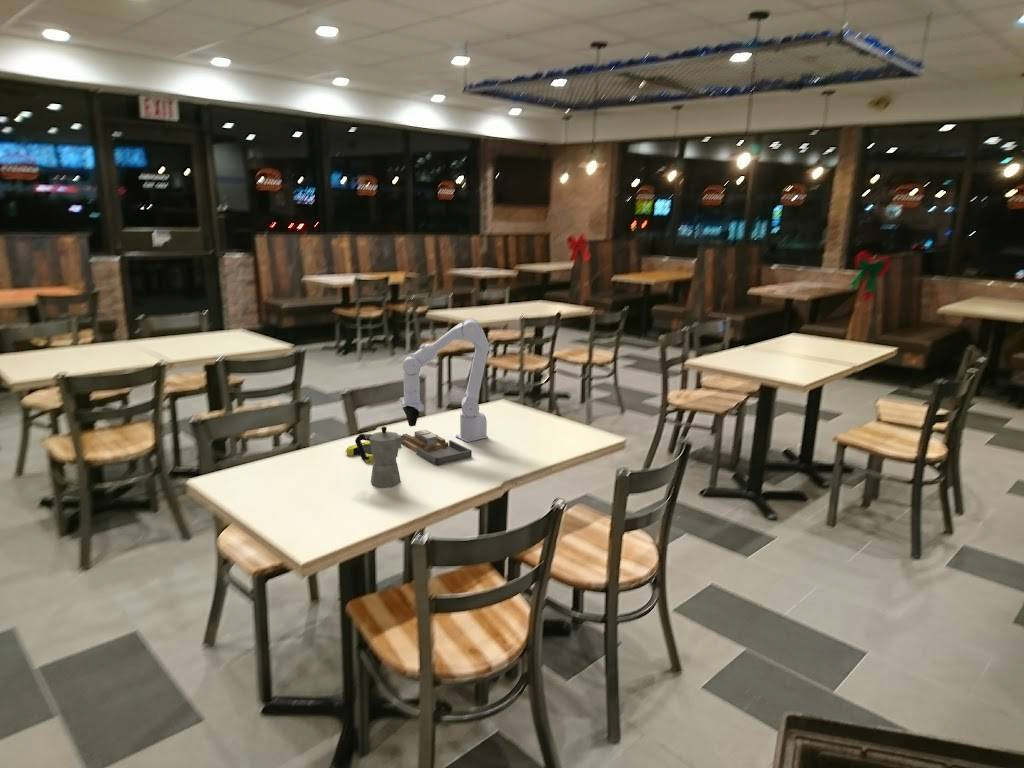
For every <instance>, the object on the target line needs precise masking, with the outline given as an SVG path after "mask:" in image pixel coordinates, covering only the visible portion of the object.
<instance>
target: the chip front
mask: <svg viewBox="0 0 1024 768" xmlns="http://www.w3.org/2000/svg"><path fill="white" fill-rule="evenodd" d="M432 433H433V432H431V434H426V435H422V442H423V443H425V444H426V446H427V447H428V446H432V445H437V436H438V435H437V434H435V433H433V434H432ZM434 434H435V435H434ZM436 435H437V436H436Z"/></svg>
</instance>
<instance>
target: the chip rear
mask: <svg viewBox="0 0 1024 768" xmlns="http://www.w3.org/2000/svg"><path fill="white" fill-rule="evenodd" d="M426 430H427V429H422V430H417V431H416V430H415V431H414V436H415V438H416V439H417V440H419V441H421V442H422V435H426V434H430V432H431V431H429V430H427V431H426ZM428 431H429V432H428Z"/></svg>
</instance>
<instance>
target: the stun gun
mask: <svg viewBox="0 0 1024 768" xmlns="http://www.w3.org/2000/svg"><path fill="white" fill-rule="evenodd" d="M361 443H362V446H363V449H364V451H365V456H366V457H369V460H364V462H365V463H366V464H372V463H374V458H373V455H372V450H371V445H370V441H366V440H365V441H364V442H361ZM401 447H402V445H401V446H400V447H399V448H401ZM345 453H346V456H349V457H350V456H358V455H360V452H359V450H358V447H357V445H356V444H354V445H349V446H348V447H346V450H345Z"/></svg>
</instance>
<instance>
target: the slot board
mask: <svg viewBox="0 0 1024 768" xmlns="http://www.w3.org/2000/svg"><path fill="white" fill-rule="evenodd" d="M425 430H426V431H428V432H430V434H431V433H432V434H434V435H436V436H437V445H432V446H428V447H427V446H426V444H425V443H423V442H421V441H419V440H417V439H416V438H415V435H413V436H412V435H409V434H408V433H402V436H405V437H406V439H405V440H404V441H403V442H402V444H401V445H402V446H405V447H406V448H408V449H410V450H412V451H413V452H415V453H416V448H417V447H419V448H420V449H422V450H424V451H428V450H432V449H437V448H441V447H446V446H449V442H446V439H445V438H443V437H441V436H439V435H437V434H436V433H433V432H431V431H429V430H427V429H425Z"/></svg>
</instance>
